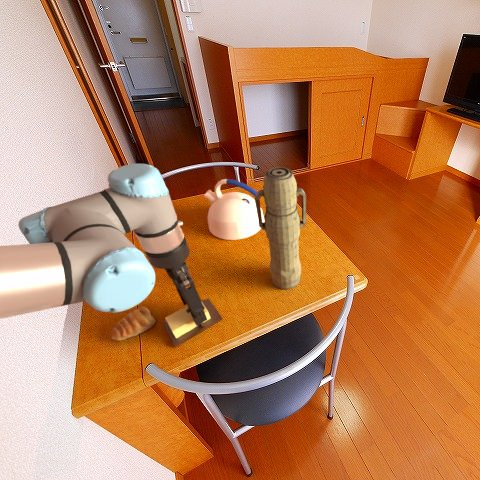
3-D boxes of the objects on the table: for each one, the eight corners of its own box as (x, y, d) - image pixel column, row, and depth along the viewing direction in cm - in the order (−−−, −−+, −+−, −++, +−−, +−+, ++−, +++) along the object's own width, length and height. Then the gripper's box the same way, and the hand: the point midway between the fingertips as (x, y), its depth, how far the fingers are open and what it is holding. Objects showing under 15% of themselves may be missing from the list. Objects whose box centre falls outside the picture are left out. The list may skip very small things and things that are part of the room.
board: (175, 347, 65) (174, 345, 65) (164, 324, 70) (162, 322, 69) (222, 319, 72) (221, 317, 71) (209, 300, 76) (208, 298, 75)
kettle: (223, 204, 112) (214, 163, 100) (272, 212, 109) (268, 170, 97) (197, 235, 97) (182, 190, 85) (252, 244, 94) (245, 199, 82)
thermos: (264, 271, 85) (249, 165, 62) (301, 264, 88) (300, 161, 65) (268, 293, 78) (253, 184, 56) (308, 285, 81) (309, 178, 58)
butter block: (176, 338, 66) (172, 331, 64) (168, 324, 69) (164, 317, 67) (200, 324, 69) (197, 317, 67) (192, 311, 72) (189, 304, 70)
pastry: (119, 349, 64) (111, 341, 62) (108, 332, 68) (100, 323, 65) (159, 323, 70) (153, 314, 68) (147, 308, 73) (141, 299, 71)
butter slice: (203, 322, 69) (200, 315, 68) (195, 310, 72) (192, 303, 70) (210, 318, 71) (208, 311, 69) (202, 305, 73) (199, 299, 71)
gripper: (204, 261, 51) (227, 330, 65) (166, 213, 62) (193, 280, 77) (161, 281, 47) (196, 349, 62) (129, 225, 58) (165, 294, 73)
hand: (195, 311), depth 69 cm, fingers closed on cutter, 7 cm apart
